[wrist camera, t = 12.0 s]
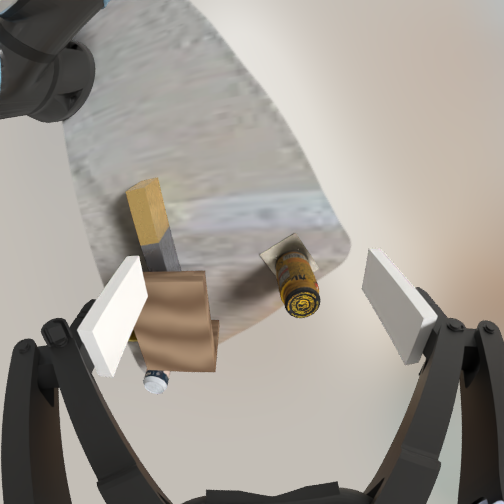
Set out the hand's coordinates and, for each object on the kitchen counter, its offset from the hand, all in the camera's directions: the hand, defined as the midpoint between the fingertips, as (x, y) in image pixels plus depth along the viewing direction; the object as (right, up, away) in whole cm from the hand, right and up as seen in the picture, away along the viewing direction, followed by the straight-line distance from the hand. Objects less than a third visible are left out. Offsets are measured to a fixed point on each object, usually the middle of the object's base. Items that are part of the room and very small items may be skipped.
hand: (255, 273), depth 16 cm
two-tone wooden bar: (-15, +1, +34) cm, 37 cm away
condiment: (+6, 0, +36) cm, 36 cm away
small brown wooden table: (-13, -6, +38) cm, 40 cm away
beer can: (-19, -19, +44) cm, 52 cm away
